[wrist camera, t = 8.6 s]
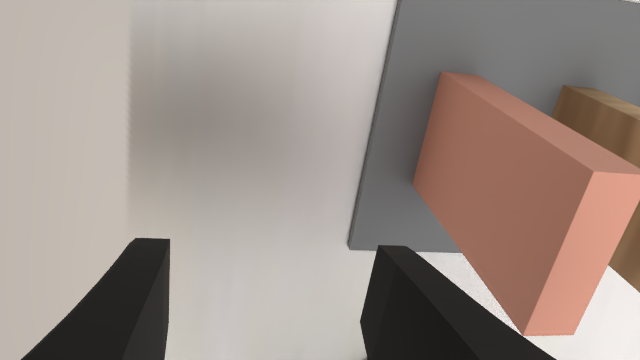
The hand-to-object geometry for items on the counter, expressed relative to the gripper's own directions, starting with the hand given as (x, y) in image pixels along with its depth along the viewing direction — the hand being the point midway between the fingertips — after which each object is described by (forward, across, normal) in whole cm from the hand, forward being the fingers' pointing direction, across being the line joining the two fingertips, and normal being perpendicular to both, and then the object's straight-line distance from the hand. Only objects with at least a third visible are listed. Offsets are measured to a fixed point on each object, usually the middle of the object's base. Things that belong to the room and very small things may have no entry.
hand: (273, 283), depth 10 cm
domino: (+10, -8, 0) cm, 13 cm away
